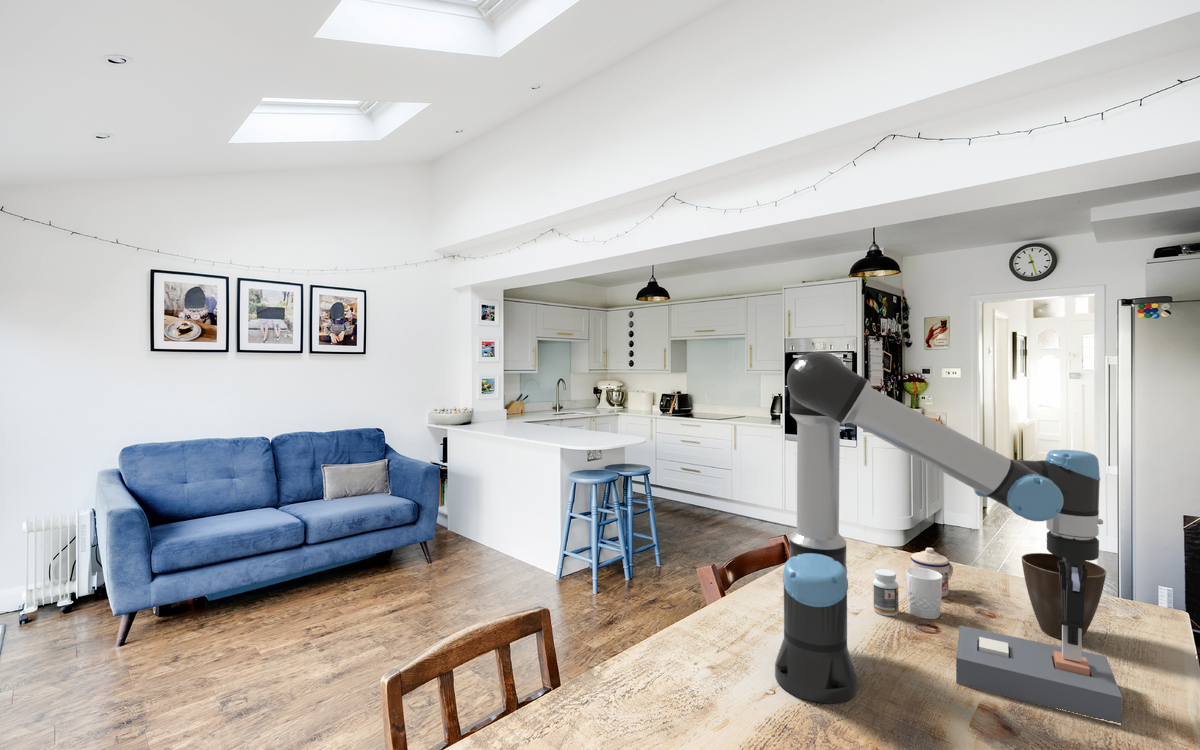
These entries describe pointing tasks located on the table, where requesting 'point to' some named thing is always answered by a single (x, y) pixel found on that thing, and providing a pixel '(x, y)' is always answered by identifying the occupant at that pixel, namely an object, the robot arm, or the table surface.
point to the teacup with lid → (934, 565)
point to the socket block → (1037, 675)
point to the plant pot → (1058, 590)
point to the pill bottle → (885, 593)
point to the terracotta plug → (1071, 664)
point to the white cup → (924, 592)
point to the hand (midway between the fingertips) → (1071, 658)
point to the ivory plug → (993, 647)
